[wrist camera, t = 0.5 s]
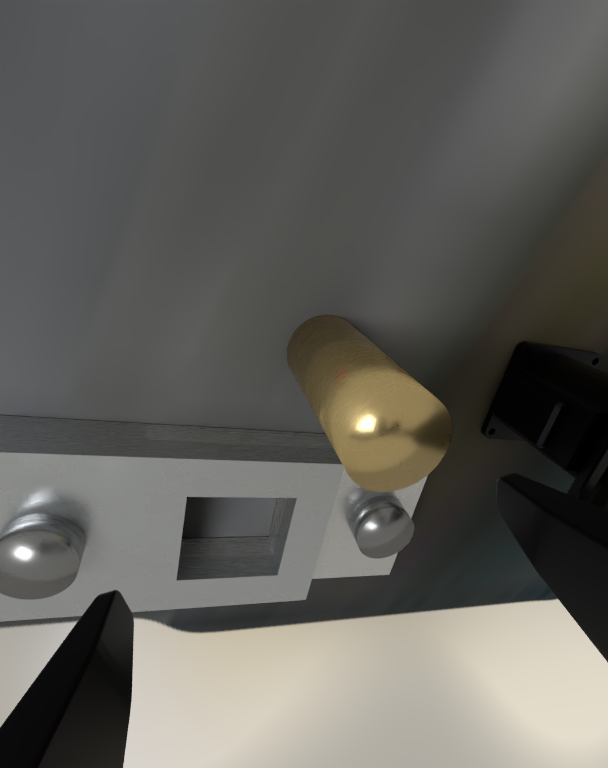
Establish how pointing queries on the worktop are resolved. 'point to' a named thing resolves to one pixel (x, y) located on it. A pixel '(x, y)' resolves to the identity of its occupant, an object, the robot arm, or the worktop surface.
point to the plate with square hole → (178, 516)
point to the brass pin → (368, 405)
